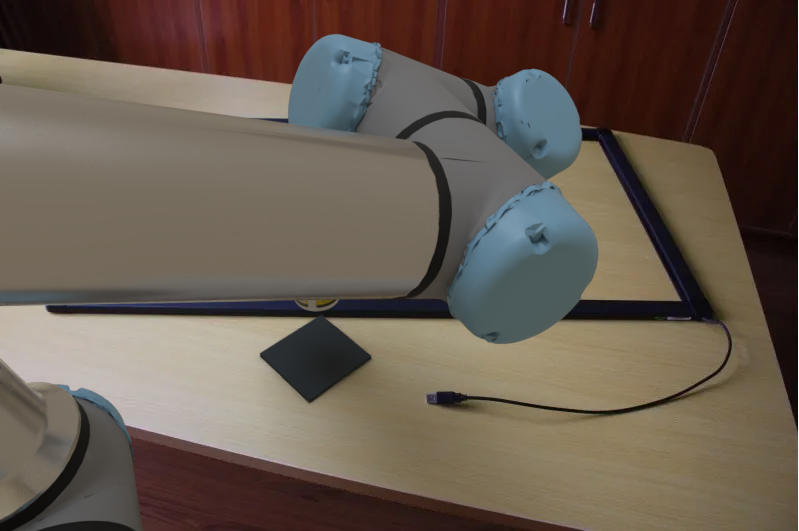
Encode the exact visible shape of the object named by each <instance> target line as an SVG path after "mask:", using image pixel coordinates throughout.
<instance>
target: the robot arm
mask: <svg viewBox="0 0 799 531" xmlns="http://www.w3.org/2000/svg"><path fill="white" fill-rule="evenodd" d="M289 92H290V93H289V98H288V106H287V121H288V122H281V121H273V120H266V119H259V118H251V117H245V116H239V115H238V116H237V115H229V114H223V113H222V114H221V113H216V112H208V111H202V110H201V111H200V110H194V109H186V108H179V107H173V106H164V105H158V104H157V105H156V104H150V103H144V102H143V103H142V102H136V101H128V100H121V99H114V98H107V97H99V96H94V95H93V96H92V95H87V94H86V95H85V94H78V93H71V92H63V91H56V90H48V89H42V88H36V87H35V88H34V87H28V86H21V85H20V86H19V85H12V84H5V83H0V307H28V306H31V307H33V306H79V305H81V306H82V305H83V306H85V305H87V306H88V305H128V304H129V305H132V304H134V305H135V304H136V305H137V304H139V305H140V304H179V303H181V304H183V303H184V304H185V303H187V304H188V303H189V304H190V303H235V302H237V303H238V302H240V303H241V302H276V301H277V302H281V301H282V302H283V301H284V302H285V301H286V302H287V301H295V300H339V301H340V300H385V299H387V300H388V299H389V300H390V299H392V300H394V299H395V300H396V299H398V300H399V299H404V300H405V299H406V300H430V299H433V300H434V299H437V300H442V301H444V302H445V303H447V306H448V310H449V313H450V315H451V317H452V318H454V319H455V320H458V321H459V322H460V323H461V324H462V325H463V326H464V327H465V329H467V330H468V331H469V332H470V333H471V334H472V335H473V336H475V337H477V338H479V339H480V340H484V341H485V342H487V343H489V344H495V345H509V344H516V343H519V342H523V341H526V340H529V339H531V338H533V337H536V336H538V335H540V334H542V333H544V332H546V331H547V330H549V329H550V328H552V327H553V326H554V325H556V324H557V323H559V322H560V321H561V320H563V318H565V317H566V316H567V315H569V313H570V312H571V311H572V310H573V309H574V308H575V307H576V305H577V304H579V302H580V301H581V299H582V295H583V294H584V292H585V290H586V288H587V287H588V286H589V285H590V284H591V282H592V281H593V279H594V276H595V274H596V271H597V266H598V262H599V244H598V239H597V236H596V234H595V231H594V230H593V228H592V227H591V226H590V224H589V223H588V222H587V221H586V220H585V218H584V217H583V216H582V215H581V214H580V213H579V212H578V211H577V210H576V209H575V207H573V206H572V204H571V203H570V202H569V201H568V200H567V199H566V198H565V197H564V195H563V191H562V190H561V188H560V187H559V186H557V185H556V184H554V183H553V182H552V181H548V180H550V179H552V178H553V177H555V176H557V175H559V174H560V173H562V172H564V171H565V170H567V169H568V168H570V167H571V166H572V165H573V164H574V162H576V160H577V158H578V156H579V154H580V151H581V148H582V142H583V132H582V127H581V122H580V121H581V118H580V115H579V112H578V109H577V106H576V104H575V102H574V100H573V98H572V97H571V95H570V93H569V92H568V91H567V89H566V88H565V87H564V86H563V85H562V83H561V82H559V81H558V79H556V78H555V77H554V76H552V75H551V74H549V73H548V72H546V71H544V70H542V69H536V68H531V69H522V70H520V71H517V72H516V73H514V74H512V75H510V76H505V77H504V78H501V79H500V80H498V81H497V83H496V85H492V86H487V85H484V84H482V83H479V82H477V81H474V80H471V79H468V78H463V77H460V76H459V77H458V76H456V75H454V74H451V73H448V72H445V71H443V70H440V69H439V68H435V67H433V66H430V65H428V64H426V63H423V62H421V61H418V60H415V59H413V58H410V57H407V56H405V55H403V54H399V53H397V52H395V51H392V50H390V49H387V48H384V47H382V45H381V43H379V42H372V43H371V42H368V41H364V40H361V39H358V38H353V37H351V36H347V35H344V34H340V33H335V34H334V33H332V34H328V35H325V36H323V37H321V38H320V39H318V40H317V41H315V42H314V43H313V44H312V46H311V47H310V48H309V49H308V50H307V51H306V52H305V54H304V56H303V58H302V59H301V61H300V63H299V66H298V68H297V70H296V73H295V75H294V77H293V80H292V84H291V88H290V91H289ZM137 490H138V489H137V484H136V476H135V471H134V447H133V445H132V439H131V436H130V433H129V431H128V429H127V427H126V424H125V421H124V419H123V416H122V415H121V413H120V412H119V410H118V409H117V407H115V406H114V404H113V403H112V402H111V401H109V399H107V398H105V396H103V395H101V394H99V393H97V392H95V391H93V390H91V389H88V388H85V387H80V388H78V389H77V390H71V389H70V385H68V384H61V383H51V382H46V381H31V382H30V381H29V382H26V381H25V380H24V379H23V378H22V377H21V376H20V375H19V374H18V373H16V372H15V371H14V369H12V368H11V366H9V365H8V364H7V363H6V362H5V361H4V360H3V359H2V358H1V357H0V531H144V529H143V522H142V517H141V509H140V502H139V497H138V491H137Z"/></svg>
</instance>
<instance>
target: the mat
mask: <svg viewBox="0 0 799 531" xmlns="http://www.w3.org/2000/svg"><path fill="white" fill-rule="evenodd" d="M259 356H260V357H261V358H262V360H264V361H265V362H266V363H267V364H268V365H269V366H270V367H271V368H272V369H273V370H274V371H275V372H276V373H277V374H278V375H279V376H280V377H281V378H283V380H284V381H286V382H287V383H288V384H289V385H290V386H291V388H293V389H294V390H295V391H296V392H297V393H299V395H300V396H302V398H304V399H305V400H306V401H307V402H308V403H309V404H310V403H312V402H313V401H314V400H316V399H317V398H319V397H320V396H322V395H323V394H324V393H326V392H327V391H328V390H330V389H332V388H333V387H334V386H335V385H337V384H339V383H340V382H341V381H342V380H344V379H345V378H347V377H348V376H349V375H351V374H353V373H354V372H355V371H356V370H358V369H359V368H361V367H362V366H363V365H365V364H366V363H368V362H369V361H371V360H372V354H370V353H369V352H368V351H367V350H365V349H364V348H362V347H361V345H359V344H358V343H357V342H356V341H354V340H353V339H352V338H350V337H349V336H348V334H346V333H345V332H343V331H342V330H341V329H340V328H338V327H337V326H336V325H335V324H333V322H331V321H330V320H329V319H327V318H326V317H325V316H324V315H323V314H320V315H318V316H316V317H315V318H313V319H312V320H310V321H309V322H306V324H304V325H302V326H301V327H298V328H297V329H296V330H294V331H293V332H292V333H289V334H288V335H286V336H285V337H283V338H281V339H279V340H278V341H277V342H275V343H274V344H272V345H271V346H269V347H267V348H266V349H264V350H263V351H261V352H259Z"/></svg>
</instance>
